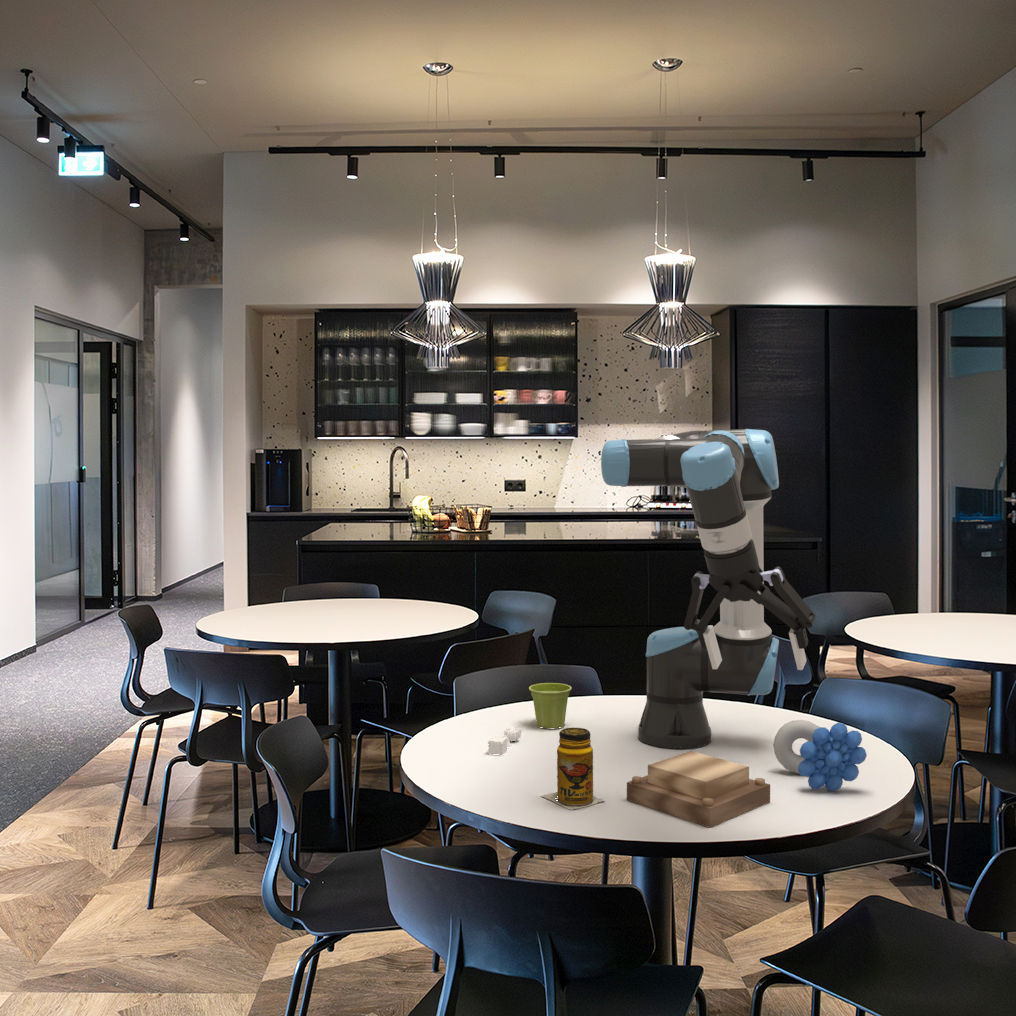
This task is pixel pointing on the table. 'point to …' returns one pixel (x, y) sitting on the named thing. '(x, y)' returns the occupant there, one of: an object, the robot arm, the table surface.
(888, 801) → the table surface
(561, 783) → the condiment
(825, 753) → the blue sphere flower
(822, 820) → the table surface
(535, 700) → the plant pot
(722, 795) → the wooden riser
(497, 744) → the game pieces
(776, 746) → the donut
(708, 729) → the robot arm
